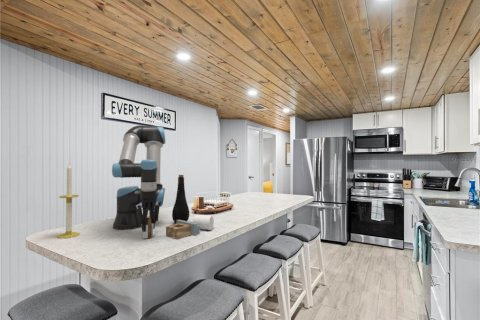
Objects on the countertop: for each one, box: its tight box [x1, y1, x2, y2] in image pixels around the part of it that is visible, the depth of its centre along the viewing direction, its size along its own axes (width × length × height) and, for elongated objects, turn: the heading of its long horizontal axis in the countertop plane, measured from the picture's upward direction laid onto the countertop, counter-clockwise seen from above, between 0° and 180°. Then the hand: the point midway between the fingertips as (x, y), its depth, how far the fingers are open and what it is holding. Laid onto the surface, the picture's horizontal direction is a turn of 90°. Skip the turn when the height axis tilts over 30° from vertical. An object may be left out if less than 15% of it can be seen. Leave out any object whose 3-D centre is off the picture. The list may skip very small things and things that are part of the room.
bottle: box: [171, 174, 190, 224], centre depth 158 cm, size 11×11×30 cm
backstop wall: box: [176, 220, 201, 237], centre depth 138 cm, size 14×5×6 cm, turn 55°
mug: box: [192, 214, 214, 231], centre depth 147 cm, size 12×10×8 cm
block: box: [165, 223, 192, 240], centre depth 132 cm, size 9×9×5 cm
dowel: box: [145, 216, 152, 240], centre depth 128 cm, size 3×3×10 cm
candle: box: [57, 163, 81, 239], centre depth 131 cm, size 10×10×38 cm
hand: (148, 236), depth 128 cm, fingers closed on dowel, 3 cm apart
